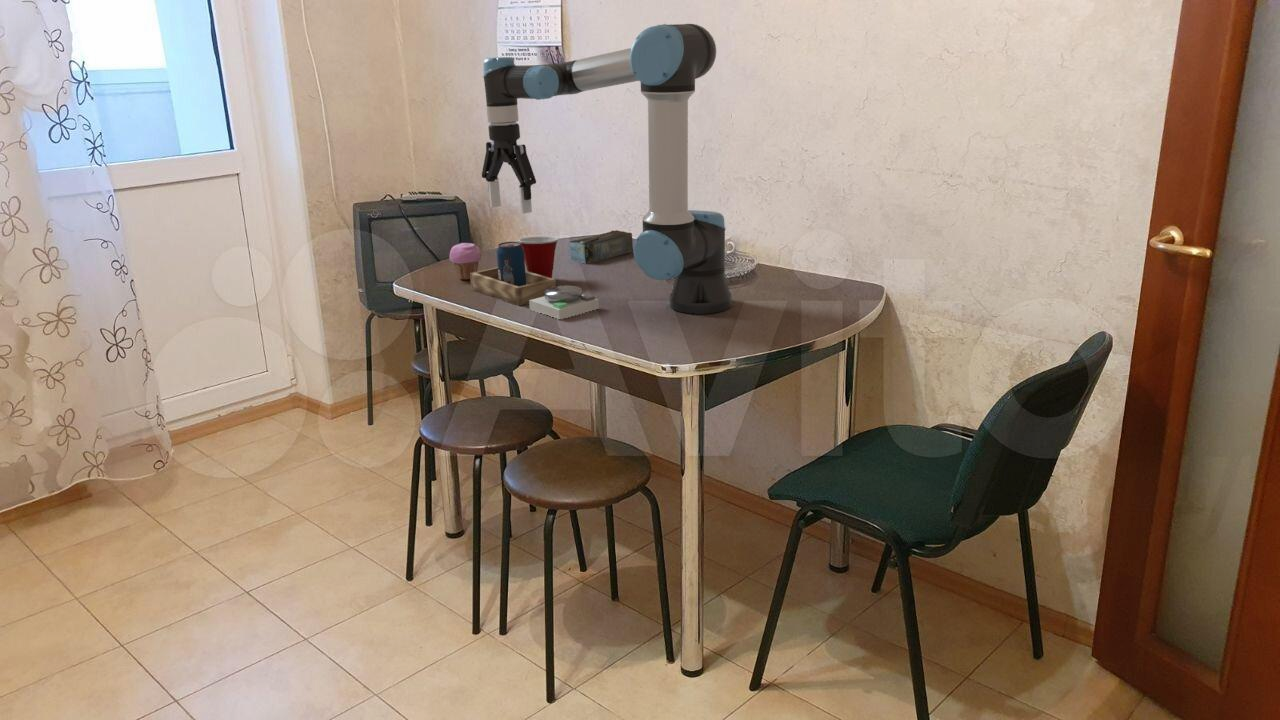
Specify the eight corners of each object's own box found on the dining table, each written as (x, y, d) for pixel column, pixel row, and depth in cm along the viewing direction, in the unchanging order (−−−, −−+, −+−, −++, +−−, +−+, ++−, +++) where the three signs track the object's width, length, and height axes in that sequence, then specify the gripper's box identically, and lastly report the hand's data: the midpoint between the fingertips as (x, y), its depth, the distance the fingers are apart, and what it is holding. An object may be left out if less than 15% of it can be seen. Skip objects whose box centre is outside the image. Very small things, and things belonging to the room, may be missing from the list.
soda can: (522, 284, 247) (519, 239, 243) (529, 290, 241) (526, 245, 237) (496, 287, 245) (493, 243, 241) (503, 294, 239) (499, 248, 235)
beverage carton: (568, 260, 276) (567, 238, 273) (617, 249, 288) (616, 228, 285) (585, 265, 270) (584, 242, 268) (634, 253, 282) (634, 231, 280)
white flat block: (598, 309, 228) (598, 296, 226) (559, 320, 220) (558, 306, 219) (568, 299, 236) (567, 287, 235) (529, 310, 229) (528, 297, 227)
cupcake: (483, 281, 256) (480, 245, 252) (451, 283, 254) (447, 247, 251) (483, 273, 264) (480, 238, 260) (452, 275, 263) (448, 240, 259)
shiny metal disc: (589, 296, 227) (589, 290, 226) (559, 304, 221) (559, 298, 220) (566, 289, 233) (566, 283, 232) (537, 296, 227) (537, 291, 227)
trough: (555, 296, 239) (554, 279, 238) (518, 305, 232) (517, 288, 231) (507, 281, 255) (506, 265, 253) (471, 289, 248) (469, 273, 246)
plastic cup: (564, 275, 258) (561, 233, 254) (557, 286, 248) (554, 242, 244) (525, 276, 259) (522, 233, 255) (517, 286, 249) (513, 242, 245)
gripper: (546, 124, 223) (552, 213, 230) (488, 119, 240) (495, 202, 247) (520, 127, 218) (527, 217, 225) (463, 122, 235) (471, 206, 243)
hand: (510, 209), depth 236 cm, fingers open, 13 cm apart
